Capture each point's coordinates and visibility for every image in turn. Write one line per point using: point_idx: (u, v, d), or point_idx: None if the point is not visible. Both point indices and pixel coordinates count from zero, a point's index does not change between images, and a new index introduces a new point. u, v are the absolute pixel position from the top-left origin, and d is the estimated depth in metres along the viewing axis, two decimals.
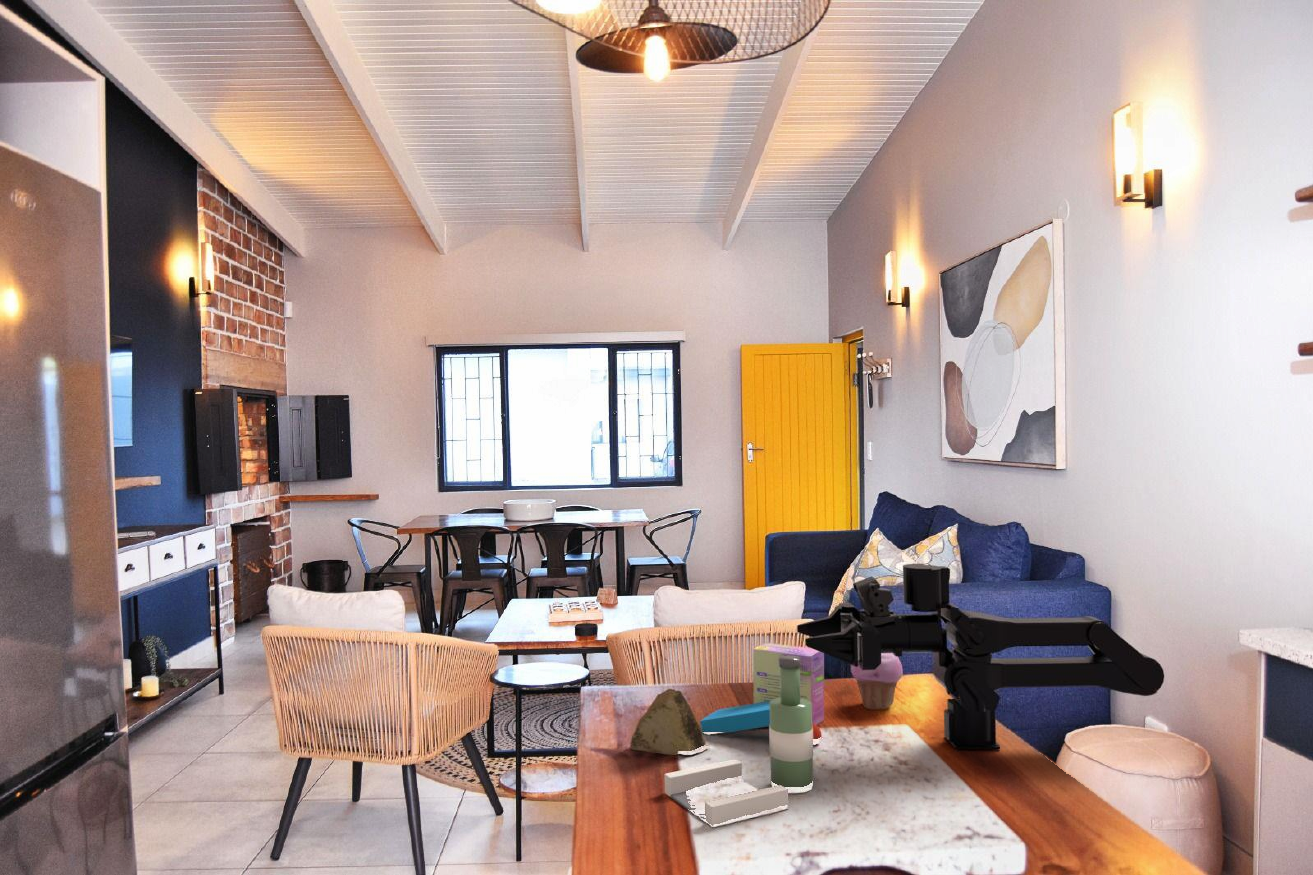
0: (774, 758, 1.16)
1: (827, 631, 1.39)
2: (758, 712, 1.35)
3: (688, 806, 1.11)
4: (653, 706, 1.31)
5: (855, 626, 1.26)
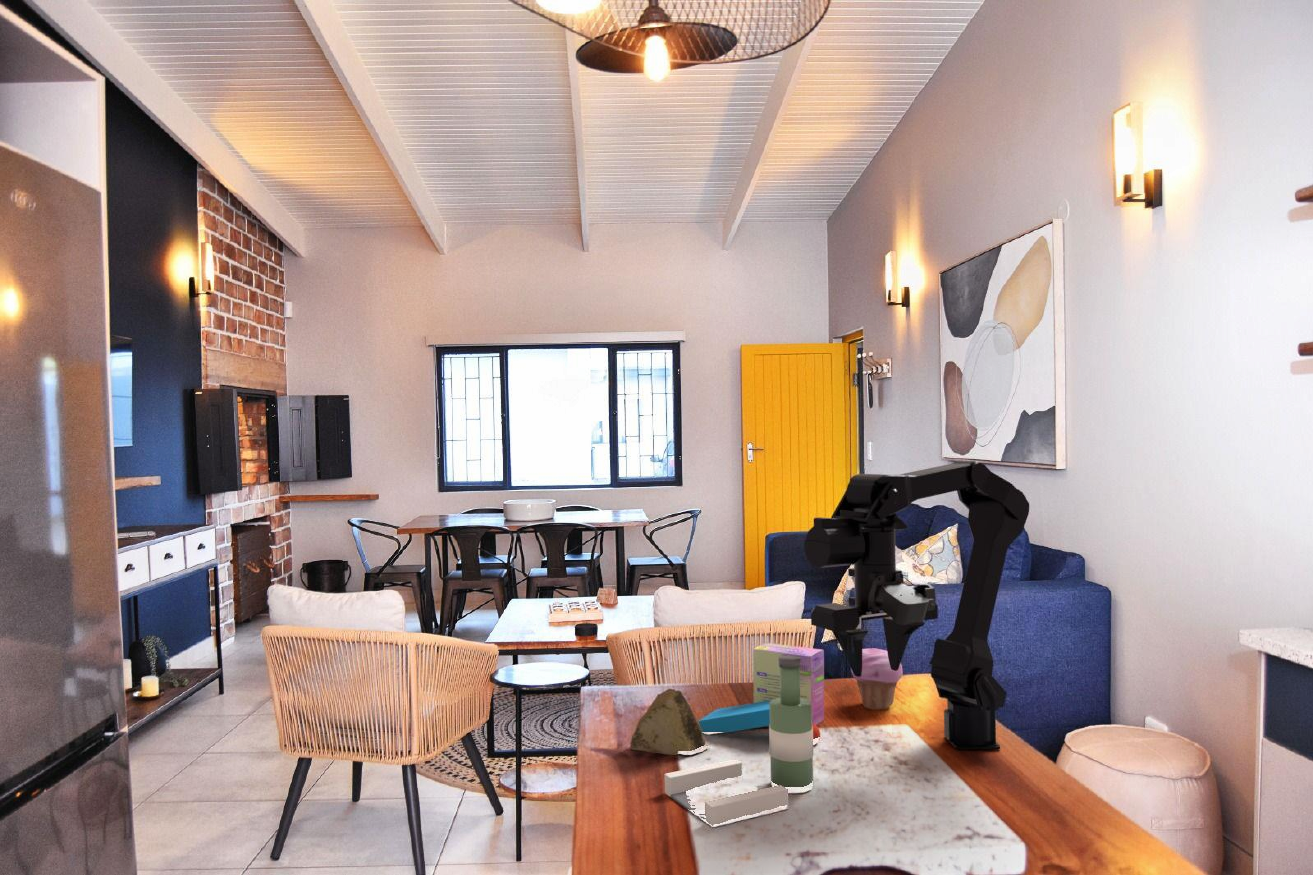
0: (774, 758, 1.16)
1: None
2: (757, 712, 1.35)
3: (688, 806, 1.11)
4: (653, 706, 1.31)
5: None
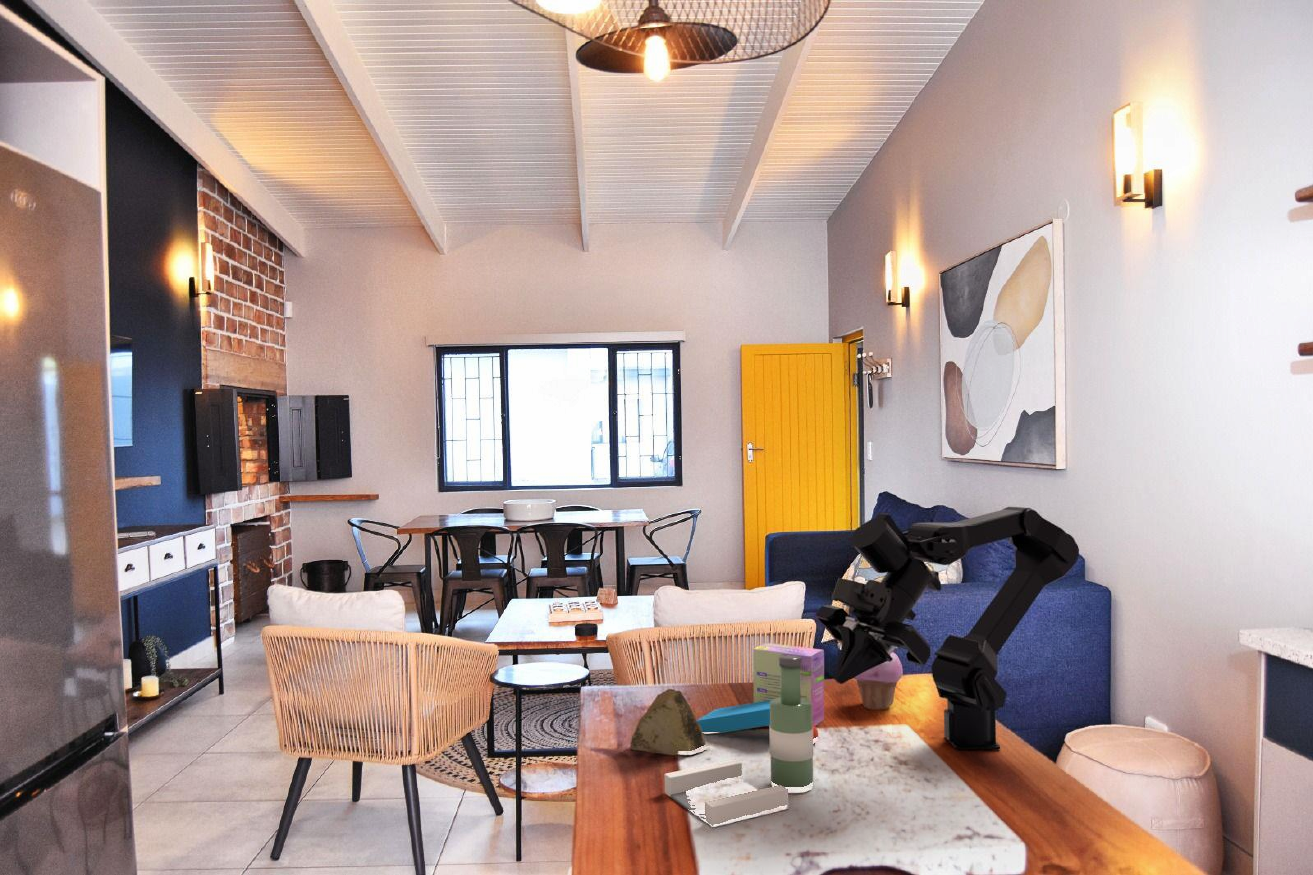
0: (774, 758, 1.16)
1: None
2: (755, 712, 1.35)
3: (688, 806, 1.11)
4: (653, 706, 1.31)
5: (867, 634, 1.20)
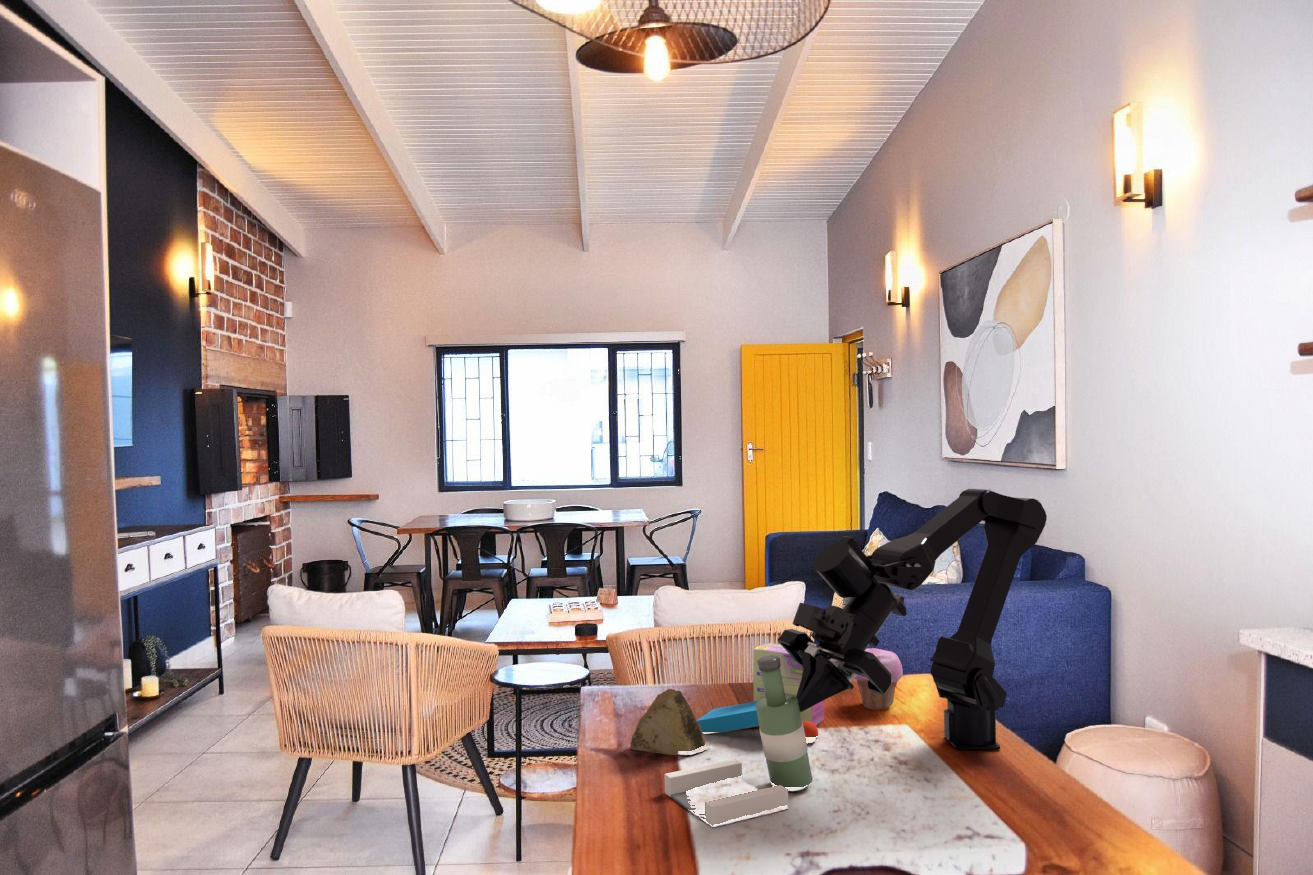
0: (769, 760, 1.16)
1: None
2: (755, 711, 1.35)
3: (688, 806, 1.11)
4: (653, 706, 1.31)
5: (828, 661, 1.17)
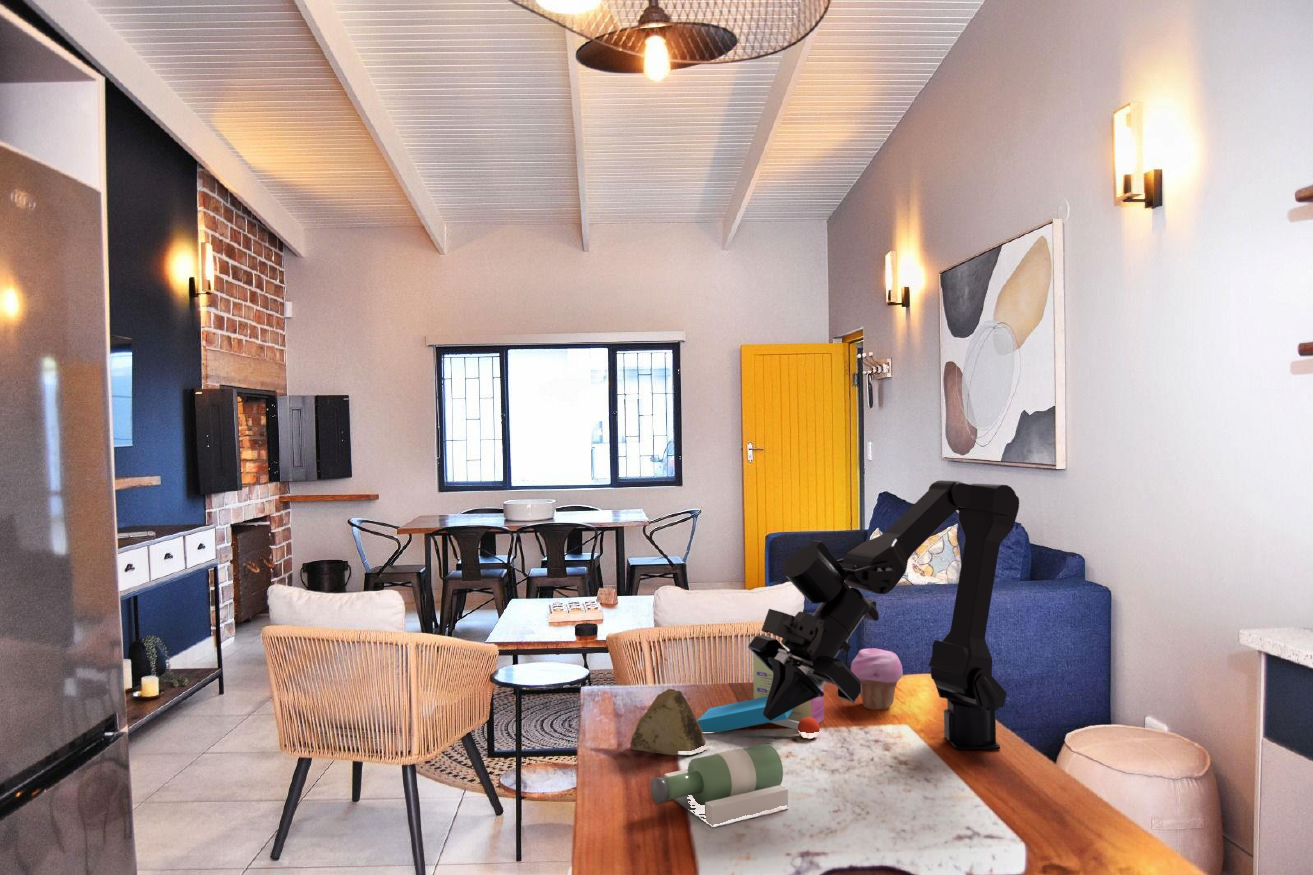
0: None
1: None
2: (759, 709, 1.36)
3: (688, 806, 1.11)
4: (653, 706, 1.31)
5: (797, 668, 1.15)
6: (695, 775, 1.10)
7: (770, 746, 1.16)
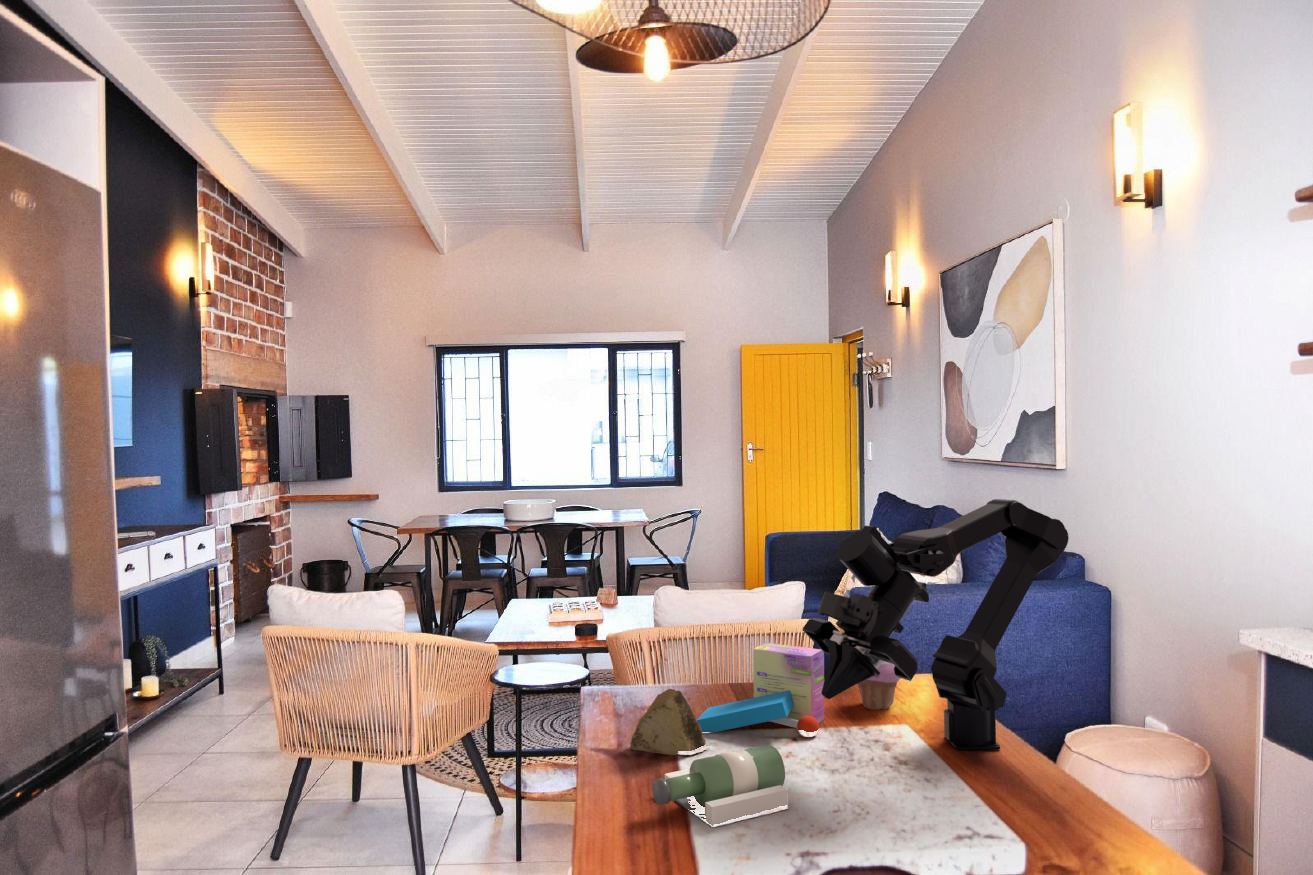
0: None
1: None
2: (758, 708, 1.37)
3: (688, 806, 1.11)
4: (653, 706, 1.31)
5: (854, 649, 1.19)
6: (698, 778, 1.10)
7: (774, 749, 1.15)
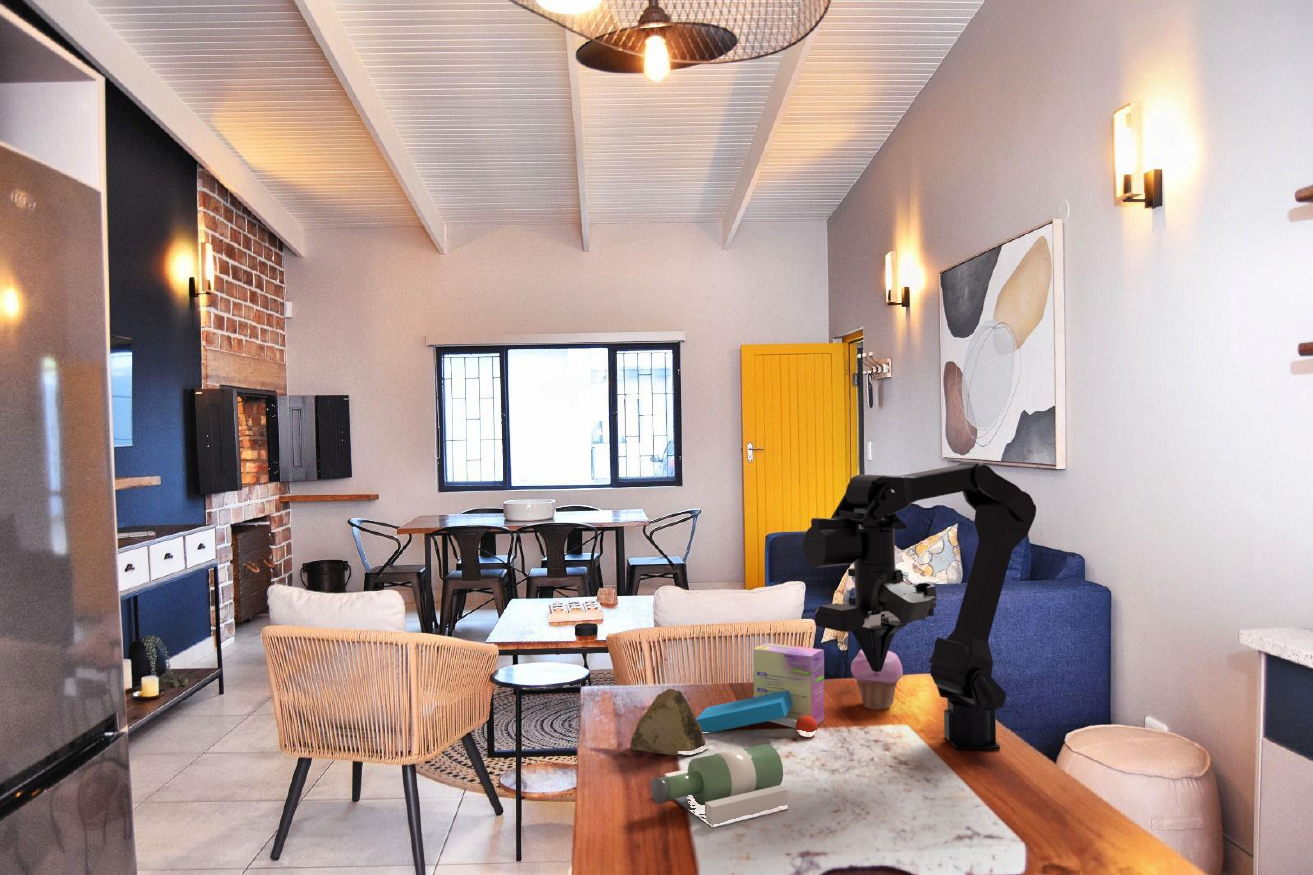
0: None
1: None
2: (757, 708, 1.37)
3: (688, 806, 1.11)
4: (653, 706, 1.31)
5: (906, 624, 1.26)
6: (695, 775, 1.10)
7: (770, 746, 1.16)
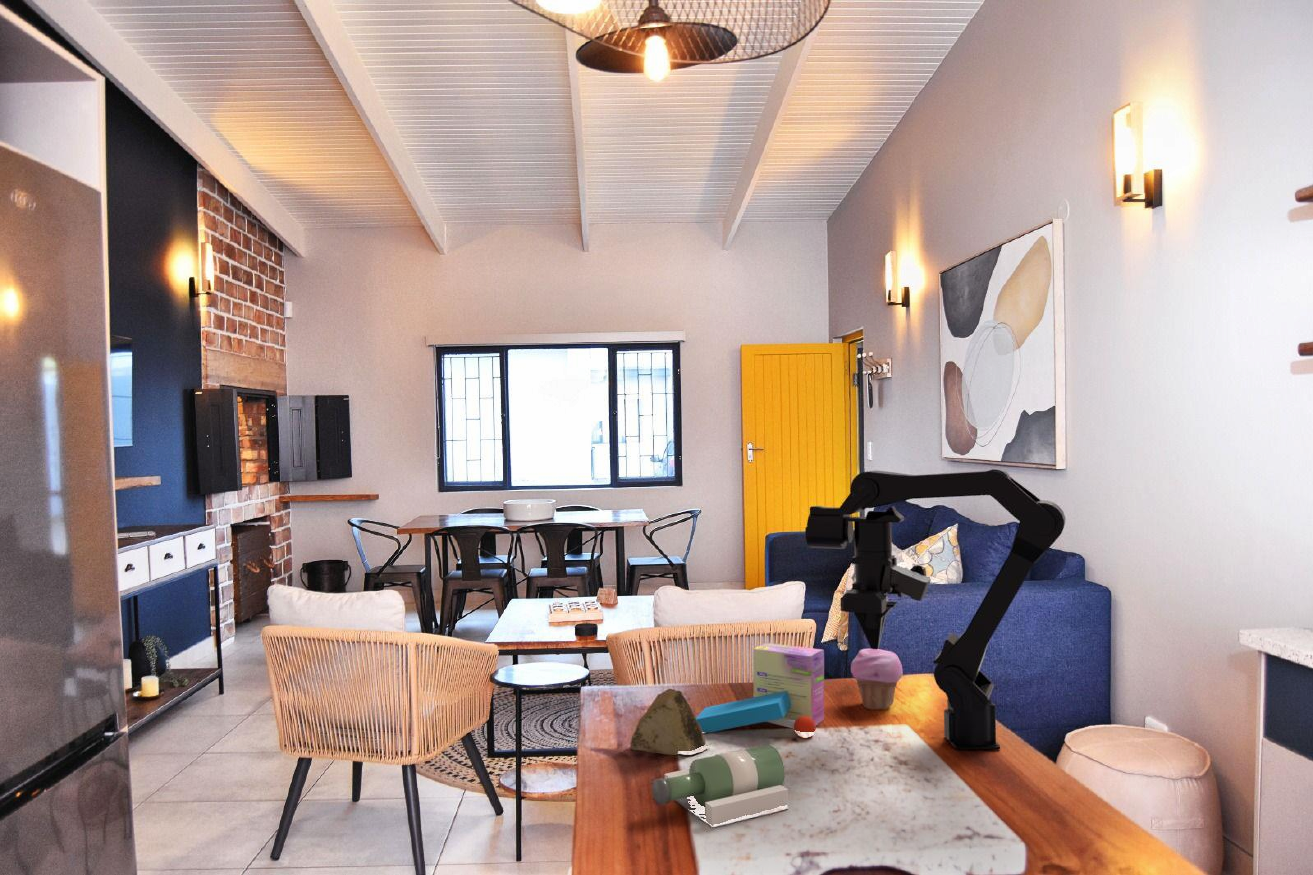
0: None
1: None
2: (755, 708, 1.37)
3: (688, 806, 1.11)
4: (653, 706, 1.31)
5: (896, 603, 1.41)
6: (697, 777, 1.10)
7: (773, 748, 1.15)
